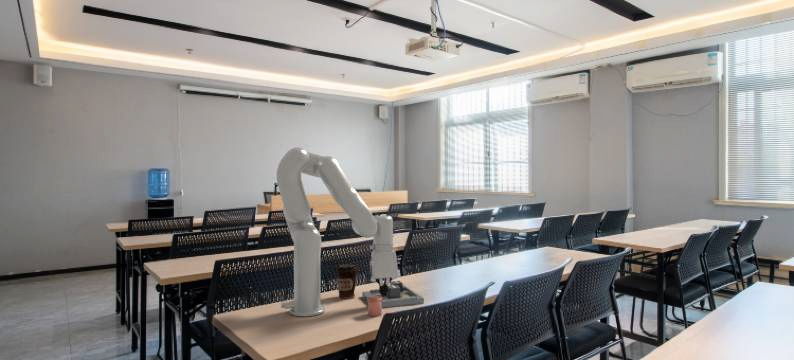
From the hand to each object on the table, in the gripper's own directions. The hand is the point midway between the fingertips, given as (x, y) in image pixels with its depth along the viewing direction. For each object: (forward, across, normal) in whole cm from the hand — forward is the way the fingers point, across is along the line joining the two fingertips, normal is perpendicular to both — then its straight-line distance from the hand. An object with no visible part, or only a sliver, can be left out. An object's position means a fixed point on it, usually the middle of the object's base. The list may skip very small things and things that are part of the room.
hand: (383, 295), depth 173 cm
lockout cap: (+4, -7, -11) cm, 14 cm away
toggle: (+1, +4, 0) cm, 4 cm away
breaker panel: (+4, +5, +4) cm, 7 cm away
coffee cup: (+4, -11, +14) cm, 18 cm away
